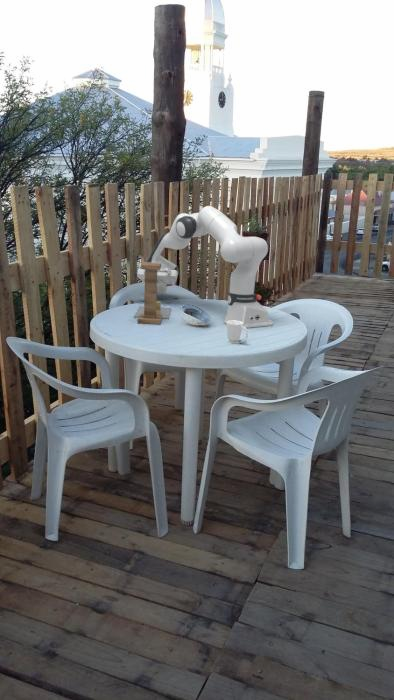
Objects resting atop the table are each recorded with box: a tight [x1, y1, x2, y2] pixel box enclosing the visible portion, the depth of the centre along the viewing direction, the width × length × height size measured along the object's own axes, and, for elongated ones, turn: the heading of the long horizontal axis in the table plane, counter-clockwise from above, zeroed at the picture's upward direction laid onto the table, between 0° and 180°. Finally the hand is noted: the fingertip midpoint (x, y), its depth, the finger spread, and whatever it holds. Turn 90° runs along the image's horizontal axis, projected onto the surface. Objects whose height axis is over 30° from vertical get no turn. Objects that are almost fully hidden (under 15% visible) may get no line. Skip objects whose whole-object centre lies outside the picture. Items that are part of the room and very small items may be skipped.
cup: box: [225, 320, 249, 344], centre depth 230 cm, size 7×10×8 cm
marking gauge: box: [156, 300, 162, 315], centre depth 275 cm, size 16×6×6 cm, turn 0°
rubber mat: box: [133, 305, 172, 320], centre depth 274 cm, size 22×16×1 cm
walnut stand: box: [137, 261, 163, 326], centre depth 254 cm, size 10×10×26 cm
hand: (156, 269), depth 282 cm, fingers open, 8 cm apart
